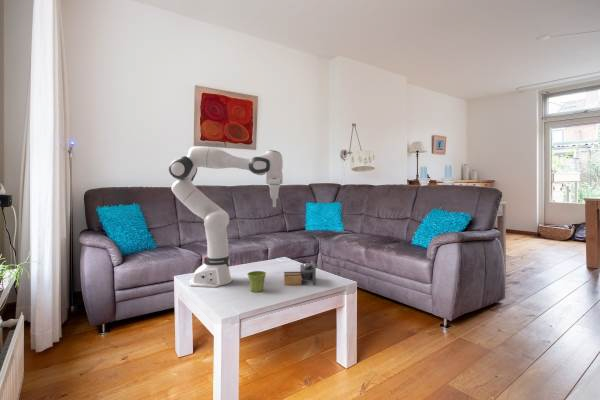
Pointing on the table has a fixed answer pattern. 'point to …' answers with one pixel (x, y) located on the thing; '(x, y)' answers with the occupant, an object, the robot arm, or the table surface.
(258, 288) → the plant pot
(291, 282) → the block
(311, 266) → the bracket
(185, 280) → the table surface
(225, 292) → the table surface
